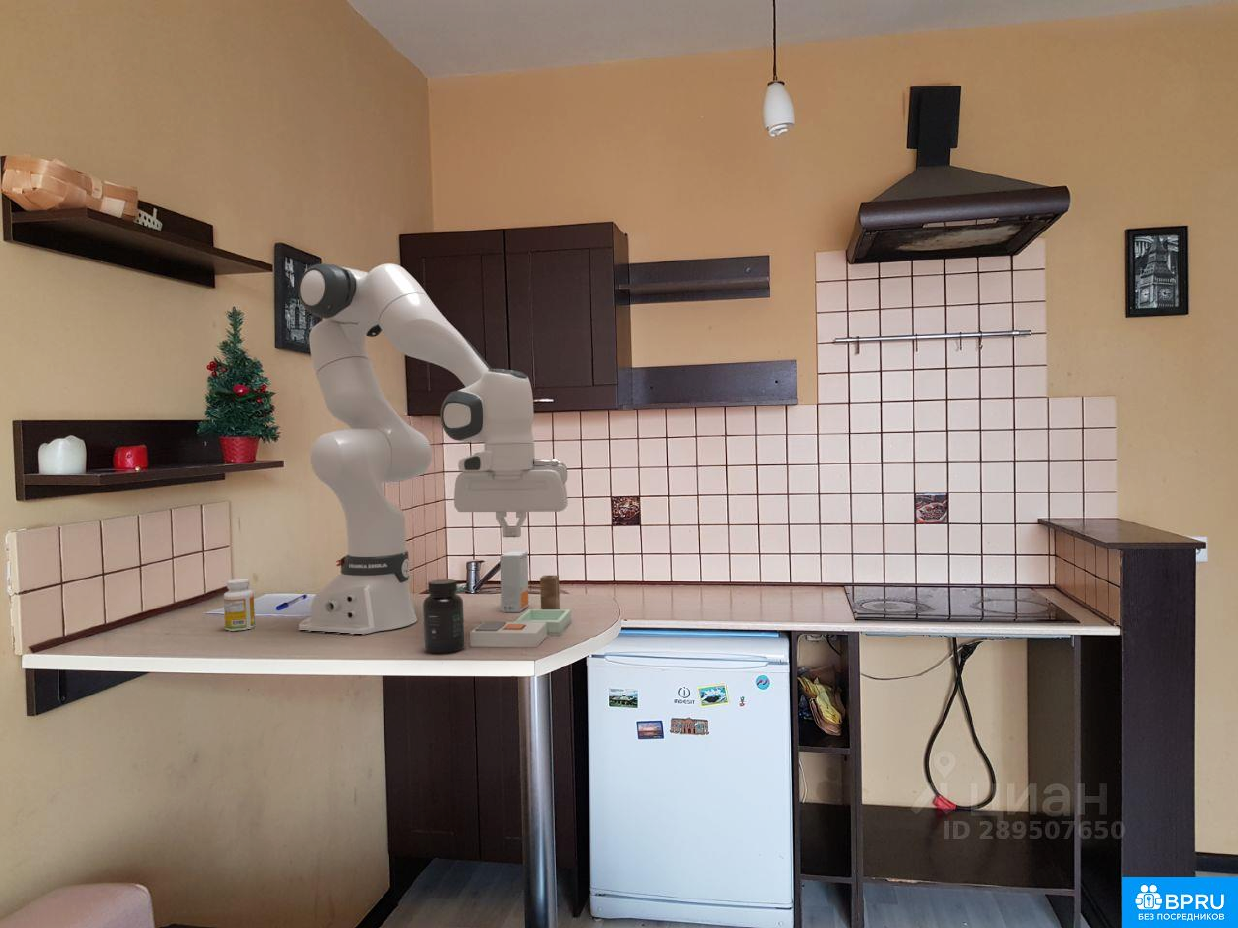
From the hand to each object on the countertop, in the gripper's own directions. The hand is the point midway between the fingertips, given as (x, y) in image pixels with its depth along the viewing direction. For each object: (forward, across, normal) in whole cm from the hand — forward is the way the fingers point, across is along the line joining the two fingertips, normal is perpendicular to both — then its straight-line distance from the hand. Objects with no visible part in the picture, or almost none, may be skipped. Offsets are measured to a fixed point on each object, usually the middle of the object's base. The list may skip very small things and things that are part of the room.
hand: (511, 537), depth 147 cm
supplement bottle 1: (+19, +58, -7) cm, 61 cm away
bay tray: (+19, -3, -9) cm, 21 cm away
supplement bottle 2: (+19, +11, +6) cm, 23 cm away
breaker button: (+18, 0, 0) cm, 18 cm away
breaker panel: (+19, +1, 0) cm, 19 cm away
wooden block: (+19, -2, -20) cm, 27 cm away
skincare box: (+19, +7, -26) cm, 33 cm away
